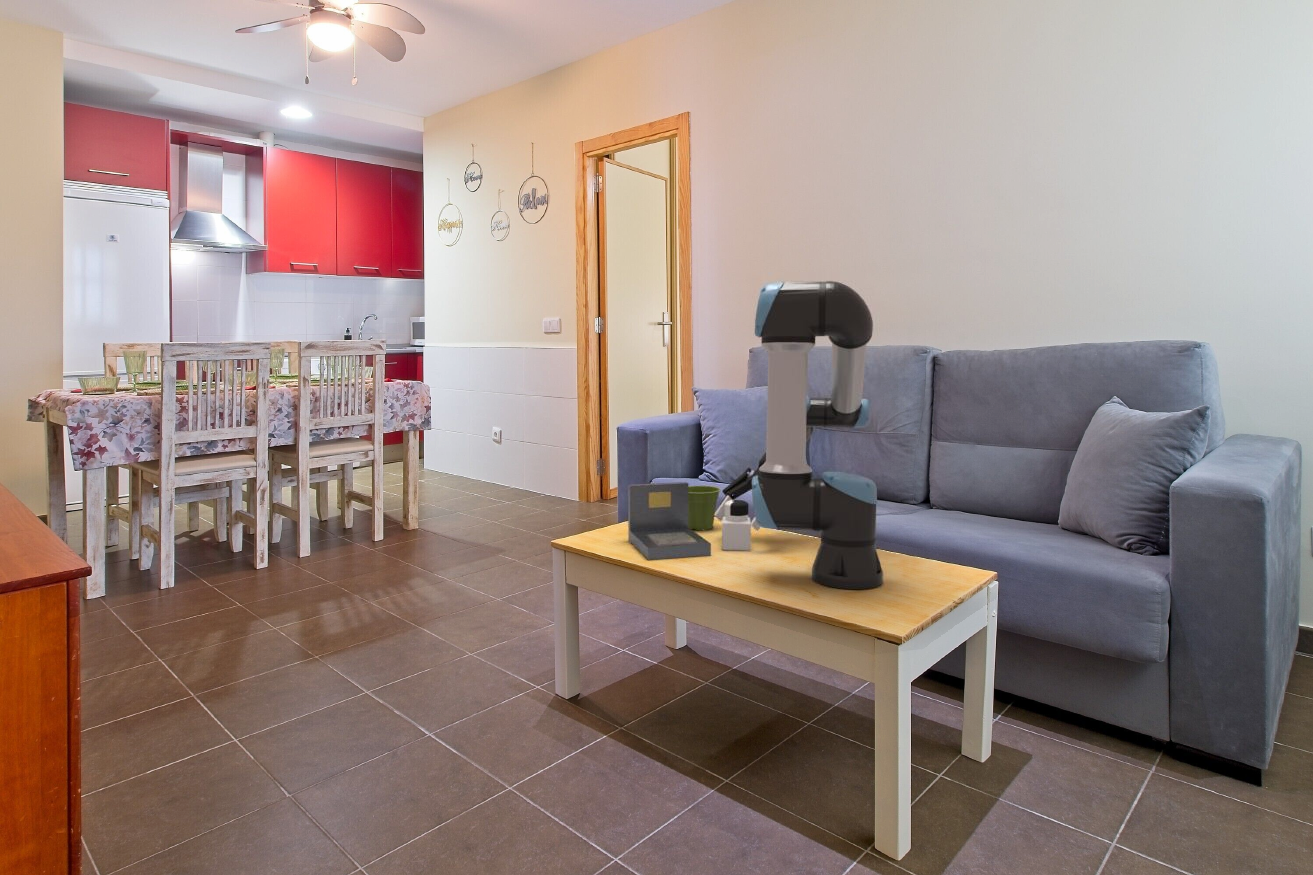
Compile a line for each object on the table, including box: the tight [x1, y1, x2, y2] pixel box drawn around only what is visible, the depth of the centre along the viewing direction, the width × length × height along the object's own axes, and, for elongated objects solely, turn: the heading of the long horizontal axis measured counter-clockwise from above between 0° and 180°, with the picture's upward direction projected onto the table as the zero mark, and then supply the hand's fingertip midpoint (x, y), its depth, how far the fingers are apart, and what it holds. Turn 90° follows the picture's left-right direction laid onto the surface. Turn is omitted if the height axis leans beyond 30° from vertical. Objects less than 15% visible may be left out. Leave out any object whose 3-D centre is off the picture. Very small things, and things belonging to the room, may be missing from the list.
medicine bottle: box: [721, 499, 752, 552], centre depth 196 cm, size 7×7×12 cm
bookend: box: [627, 481, 712, 560], centre depth 195 cm, size 20×16×15 cm
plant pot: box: [688, 485, 722, 531], centre depth 218 cm, size 12×12×11 cm
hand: (735, 522), depth 197 cm, fingers open, 13 cm apart
